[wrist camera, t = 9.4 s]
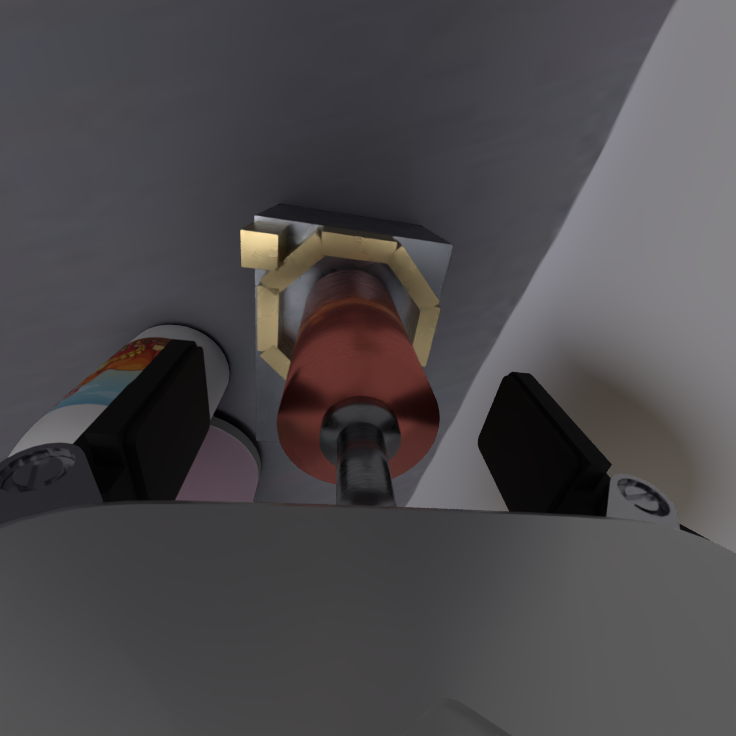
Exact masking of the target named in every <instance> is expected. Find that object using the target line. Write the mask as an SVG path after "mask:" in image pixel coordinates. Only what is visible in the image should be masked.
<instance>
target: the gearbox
mask: <svg viewBox="0 0 736 736" xmlns="http://www.w3.org/2000/svg"><path fill="white" fill-rule="evenodd" d="M452 248H453V244H451V243H449V242H448V241H446V240H444V239H443V238H441V237H439V236H438V235H436V234H434V233H433V232H431V231H429V230H428V229H426V228H424V227H423V226H421V225H414V224H408V223H401V222H395V221H388V220H382V219H375V218H369V217H362V216H356V215H349V214H343V213H336V212H330V211H323V210H317V209H310V208H304V207H297V206H291V205H284V204H278V205H276V206H273V207H271V208H269V209H267V210H265V211H263V212H261V213H259V214H257V215H255V222H254V223H252V224H250V225H248V226H246V227H245V228H243V229H241V267H247V268H255V346H256V441H267V442H280V441H279V438H278V433H277V415H278V410H279V406H280V402H281V398H282V394H283V390H284V386H285V382H286V378H287V374H288V370H289V366H290V362H291V358H292V354H293V350H294V346H295V342H296V338H297V334H298V330H299V326H300V322H301V318H302V314H303V310H304V306H305V303H306V299H307V296H308V294H309V292H310V291H311V289H312V287H313V286H314V285H315V284H316V283H317V282H318V281H319V280H320V279H321V278H323V277H324V276H326V275H328V274H330V273H332V272H335V271H338V270H344V269H354V270H360V271H364V272H366V273H369V274H371V275H373V276H374V277H376V278H377V279H379V280H380V281H381V282H382V283H383V284H384V286H385V287H386V288H387V290H388V291H389V293H390V295H391V298H392V300H393V302H394V304H395V307H396V309H397V311H398V314H399V316H400V318H401V320H402V323H403V325H404V327H405V330H406V332H407V334H408V336H409V339H410V341H411V343H412V346H413V348H414V350H415V352H416V355H417V357H418V359H419V362H420V364H421V366H422V367H426V363H427V360H428V356H429V352H430V348H431V344H432V340H433V336H434V332H435V329H436V325H437V321H438V317H439V313H440V309H441V308H440V306H439V305H438V303H440V302H439V299H440V296H441V292H442V288H443V284H444V280H445V276H446V272H447V268H448V264H449V260H450V256H451V252H452Z"/></svg>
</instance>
